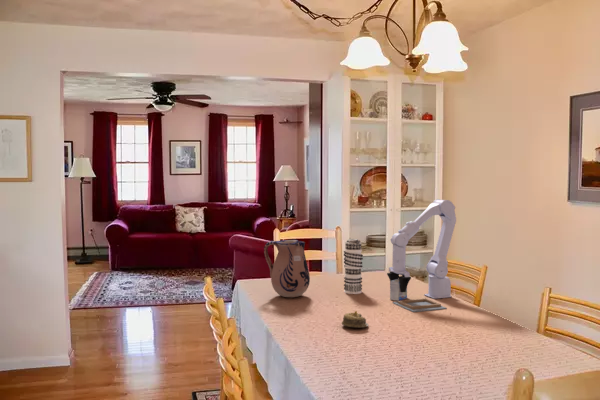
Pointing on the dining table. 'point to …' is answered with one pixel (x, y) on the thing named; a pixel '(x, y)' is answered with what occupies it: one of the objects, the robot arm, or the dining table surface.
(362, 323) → the cake
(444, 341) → the dining table surface
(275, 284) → the ceramic pitcher
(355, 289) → the decorative candle
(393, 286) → the medicine box
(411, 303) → the board
